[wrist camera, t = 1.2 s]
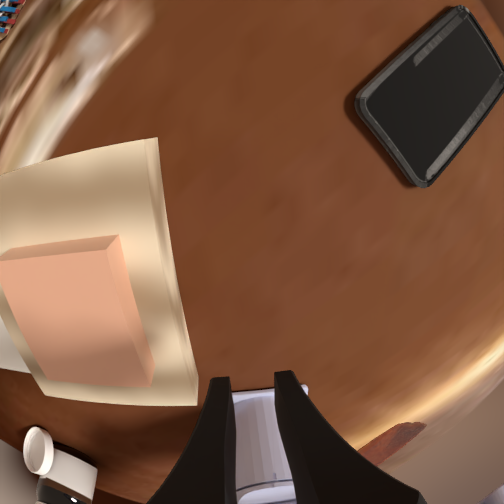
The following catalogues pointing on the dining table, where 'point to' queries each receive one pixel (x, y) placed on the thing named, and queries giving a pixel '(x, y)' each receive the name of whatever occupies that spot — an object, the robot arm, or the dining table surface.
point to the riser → (134, 250)
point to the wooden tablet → (390, 442)
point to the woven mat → (5, 10)
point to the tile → (78, 311)
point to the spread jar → (59, 470)
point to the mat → (10, 352)
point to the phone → (433, 95)
